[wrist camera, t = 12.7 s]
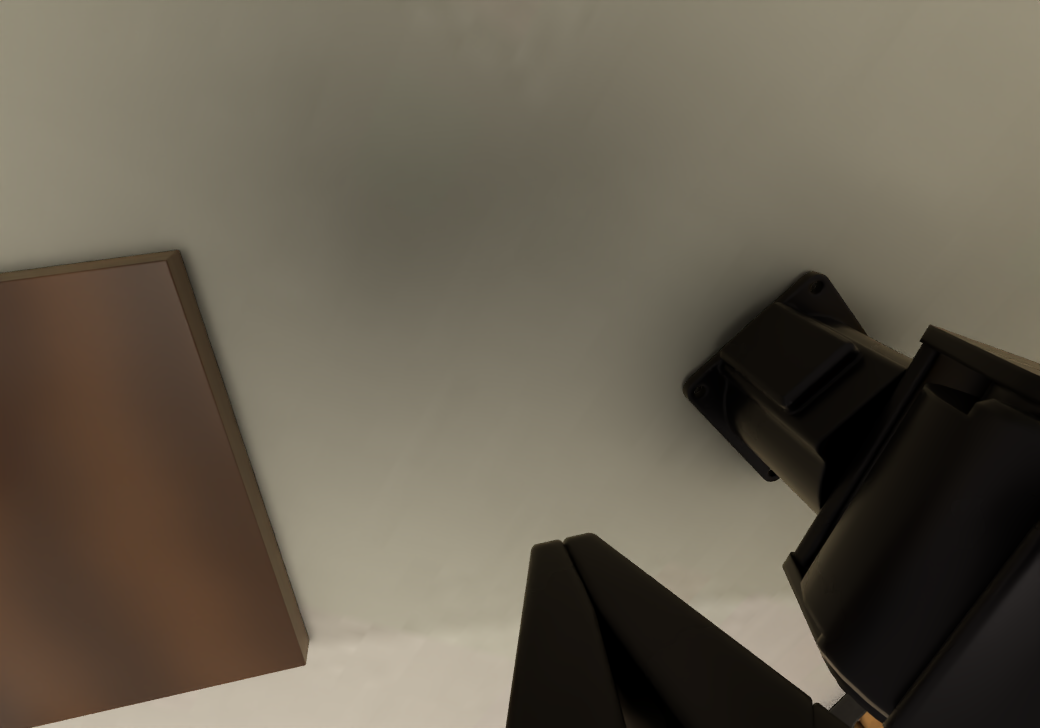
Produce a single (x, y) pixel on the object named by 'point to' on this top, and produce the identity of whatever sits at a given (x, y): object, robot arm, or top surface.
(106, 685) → the walnut board
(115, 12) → the top surface
